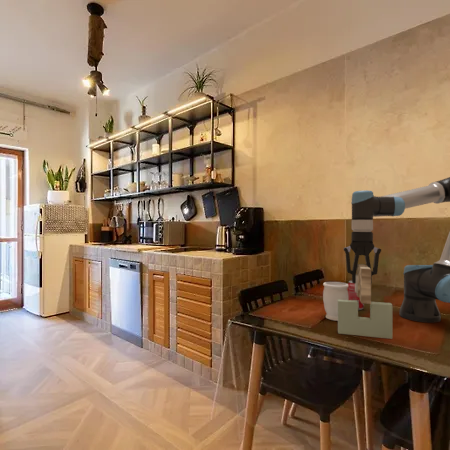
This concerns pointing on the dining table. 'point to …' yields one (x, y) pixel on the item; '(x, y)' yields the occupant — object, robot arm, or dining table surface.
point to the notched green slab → (365, 319)
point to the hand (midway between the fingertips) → (361, 292)
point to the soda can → (354, 295)
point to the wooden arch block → (364, 283)
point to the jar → (334, 298)
